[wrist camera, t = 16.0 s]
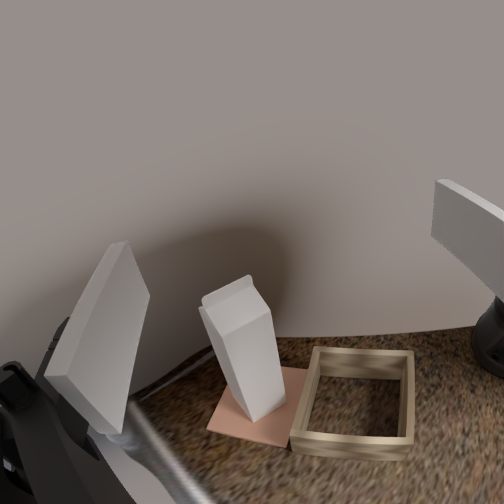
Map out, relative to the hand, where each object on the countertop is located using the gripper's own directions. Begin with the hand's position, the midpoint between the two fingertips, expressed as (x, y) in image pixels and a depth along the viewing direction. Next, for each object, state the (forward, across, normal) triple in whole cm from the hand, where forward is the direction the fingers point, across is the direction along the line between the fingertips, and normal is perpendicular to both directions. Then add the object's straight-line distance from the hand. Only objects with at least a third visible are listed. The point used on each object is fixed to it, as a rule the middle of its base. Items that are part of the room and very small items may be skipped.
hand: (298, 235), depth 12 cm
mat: (+16, -5, -35) cm, 39 cm away
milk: (+15, -5, -34) cm, 38 cm away
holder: (+9, +8, -35) cm, 37 cm away
